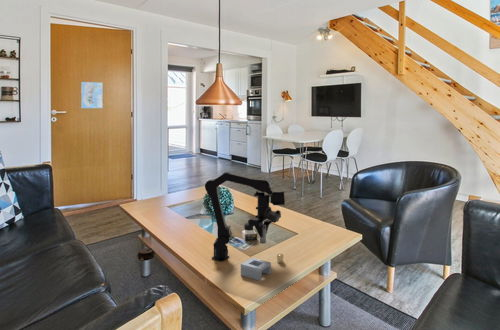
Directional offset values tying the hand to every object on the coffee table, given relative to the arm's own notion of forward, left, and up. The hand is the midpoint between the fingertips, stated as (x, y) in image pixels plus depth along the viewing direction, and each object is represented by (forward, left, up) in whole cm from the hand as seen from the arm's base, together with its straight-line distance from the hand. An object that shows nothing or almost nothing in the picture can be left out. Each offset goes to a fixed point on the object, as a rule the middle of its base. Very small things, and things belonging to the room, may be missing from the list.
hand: (262, 236), depth 148 cm
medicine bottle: (-19, +18, -12) cm, 29 cm away
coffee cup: (-51, -29, -22) cm, 62 cm away
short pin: (+9, +1, -12) cm, 15 cm away
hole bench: (+5, -15, -12) cm, 20 cm away
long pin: (0, 0, -3) cm, 3 cm away
